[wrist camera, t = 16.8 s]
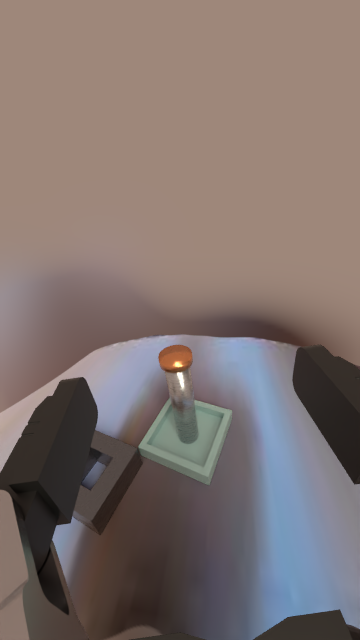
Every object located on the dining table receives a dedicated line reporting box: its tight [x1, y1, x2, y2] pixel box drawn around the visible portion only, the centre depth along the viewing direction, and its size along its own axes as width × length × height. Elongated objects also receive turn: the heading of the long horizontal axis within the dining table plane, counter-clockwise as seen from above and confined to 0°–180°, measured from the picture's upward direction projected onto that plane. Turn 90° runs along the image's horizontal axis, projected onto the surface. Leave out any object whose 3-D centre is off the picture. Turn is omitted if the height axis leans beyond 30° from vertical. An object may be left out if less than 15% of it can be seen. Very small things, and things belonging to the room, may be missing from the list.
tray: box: [138, 397, 232, 485], centre depth 42 cm, size 12×12×2 cm
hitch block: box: [72, 430, 142, 535], centre depth 37 cm, size 10×10×4 cm
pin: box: [158, 345, 199, 444], centre depth 38 cm, size 5×5×17 cm
